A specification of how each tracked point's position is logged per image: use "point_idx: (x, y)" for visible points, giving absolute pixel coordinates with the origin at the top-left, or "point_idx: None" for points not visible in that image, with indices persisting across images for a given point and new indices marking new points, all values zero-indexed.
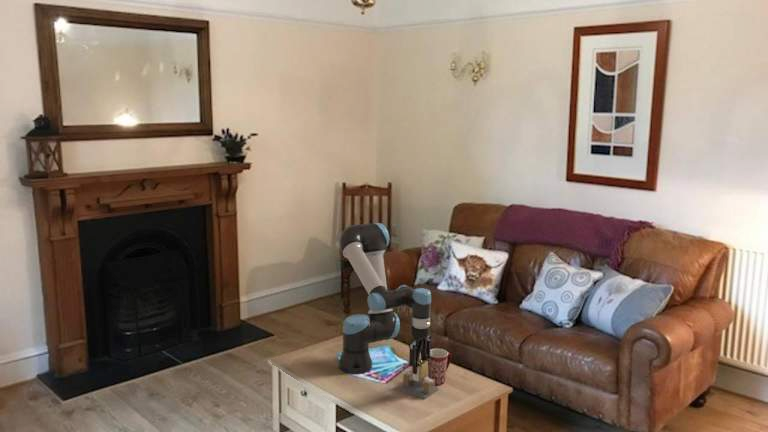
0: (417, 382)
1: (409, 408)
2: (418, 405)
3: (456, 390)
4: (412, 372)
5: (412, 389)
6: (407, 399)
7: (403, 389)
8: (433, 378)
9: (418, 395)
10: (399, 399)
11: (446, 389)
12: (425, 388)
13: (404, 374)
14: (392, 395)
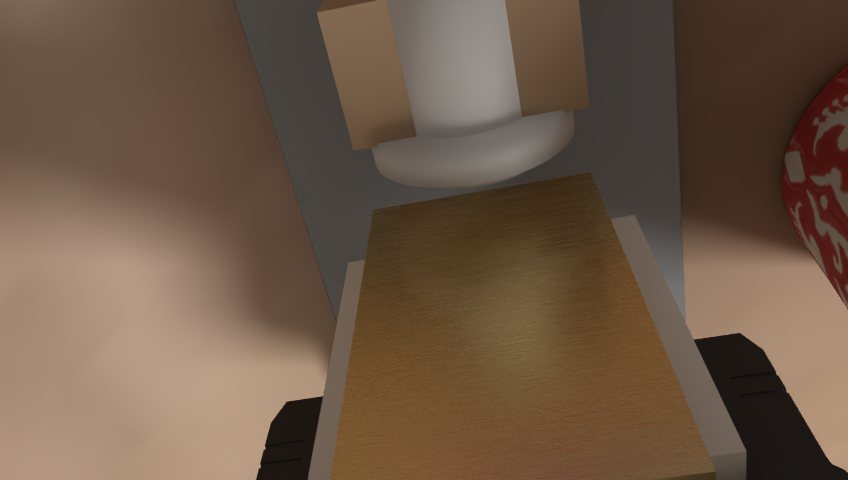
0: (618, 49)
1: (70, 411)
2: (205, 424)
3: (835, 450)
4: (365, 306)
5: (370, 172)
6: (170, 264)
7: (259, 69)
8: (822, 254)
9: (336, 316)
10: (68, 203)
11: (778, 375)
12: None
13: (325, 38)
14: (29, 53)
